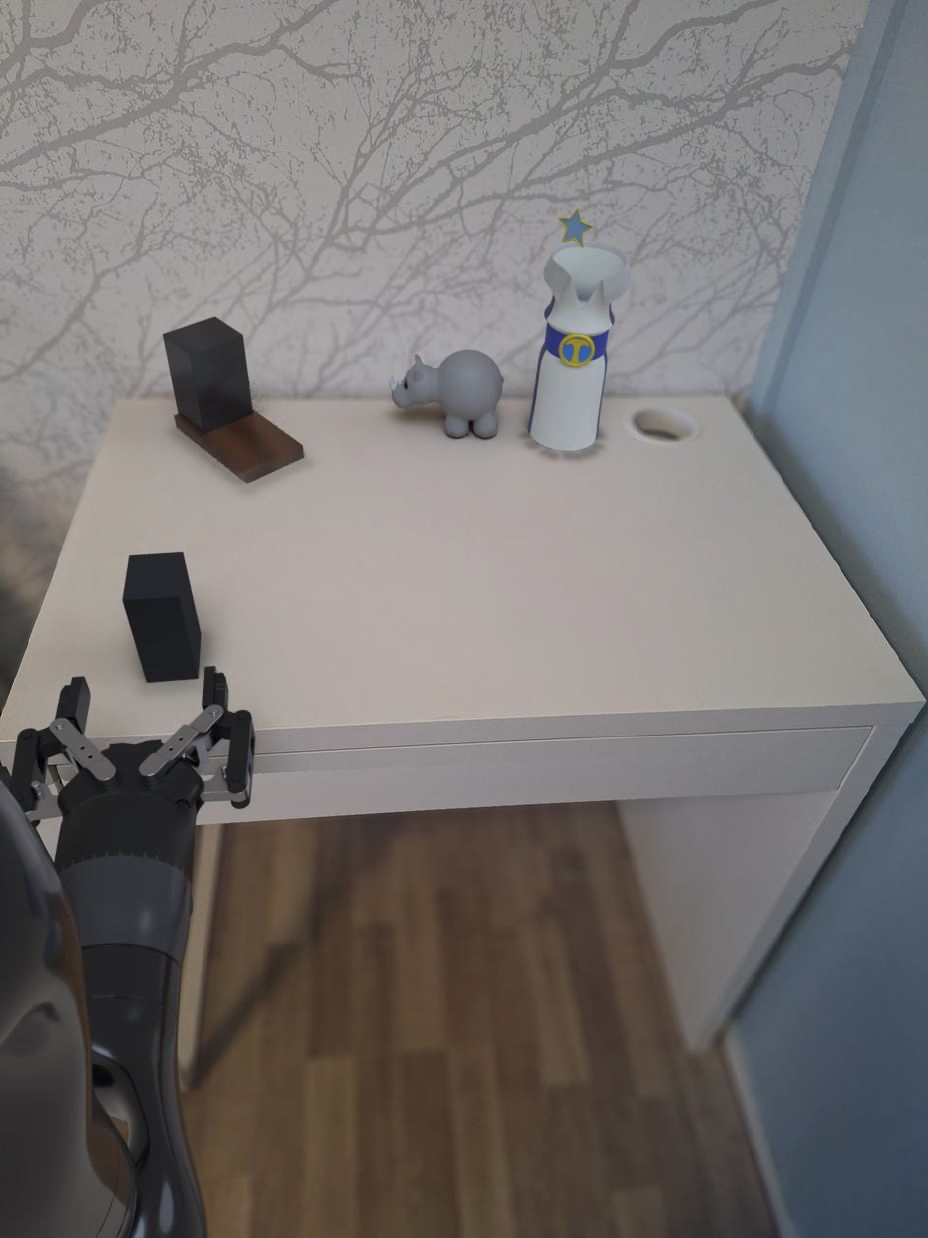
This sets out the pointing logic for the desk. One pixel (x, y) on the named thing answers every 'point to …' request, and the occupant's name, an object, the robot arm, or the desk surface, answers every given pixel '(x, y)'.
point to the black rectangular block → (163, 616)
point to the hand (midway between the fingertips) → (147, 679)
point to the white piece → (576, 338)
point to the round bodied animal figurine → (455, 391)
